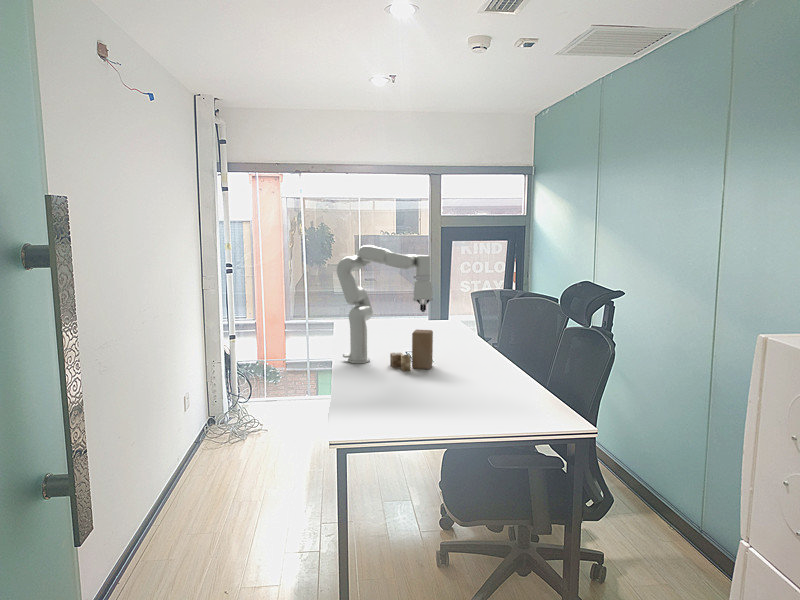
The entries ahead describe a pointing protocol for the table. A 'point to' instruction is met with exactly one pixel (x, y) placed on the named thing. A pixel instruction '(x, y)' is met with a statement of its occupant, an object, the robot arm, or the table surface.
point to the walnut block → (395, 360)
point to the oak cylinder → (405, 362)
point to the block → (422, 349)
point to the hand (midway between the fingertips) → (423, 311)
